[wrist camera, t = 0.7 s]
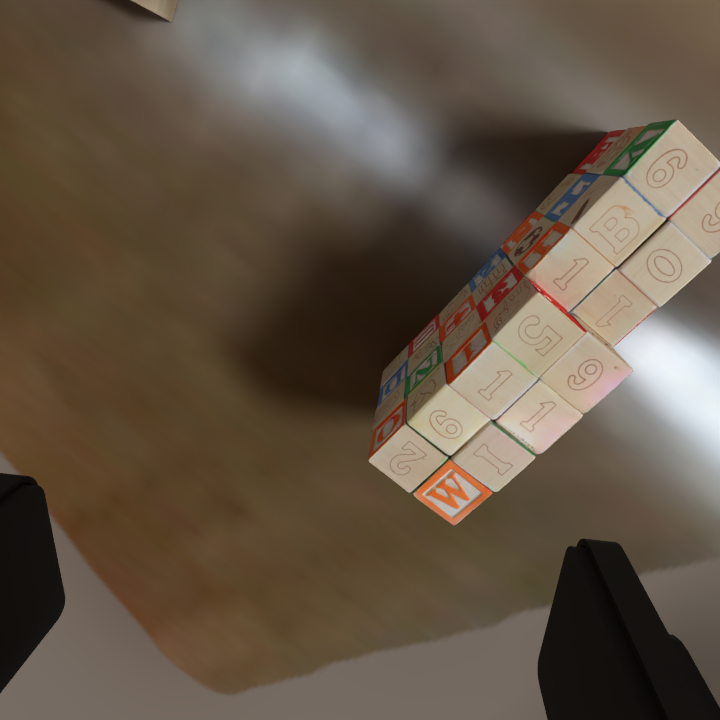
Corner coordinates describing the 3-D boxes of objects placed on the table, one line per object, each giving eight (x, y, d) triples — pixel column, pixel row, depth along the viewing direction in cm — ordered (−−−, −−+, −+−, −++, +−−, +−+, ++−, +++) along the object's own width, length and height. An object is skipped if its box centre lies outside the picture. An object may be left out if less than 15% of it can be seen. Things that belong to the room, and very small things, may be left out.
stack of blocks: (607, 127, 31) (718, 108, 19) (678, 196, 32) (823, 217, 20) (380, 372, 38) (364, 463, 27) (443, 422, 39) (453, 531, 28)
